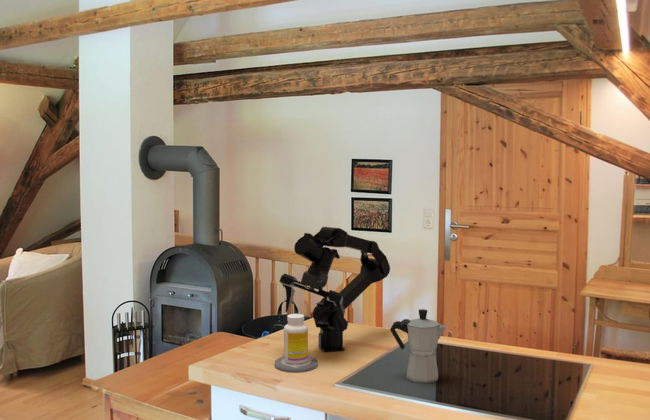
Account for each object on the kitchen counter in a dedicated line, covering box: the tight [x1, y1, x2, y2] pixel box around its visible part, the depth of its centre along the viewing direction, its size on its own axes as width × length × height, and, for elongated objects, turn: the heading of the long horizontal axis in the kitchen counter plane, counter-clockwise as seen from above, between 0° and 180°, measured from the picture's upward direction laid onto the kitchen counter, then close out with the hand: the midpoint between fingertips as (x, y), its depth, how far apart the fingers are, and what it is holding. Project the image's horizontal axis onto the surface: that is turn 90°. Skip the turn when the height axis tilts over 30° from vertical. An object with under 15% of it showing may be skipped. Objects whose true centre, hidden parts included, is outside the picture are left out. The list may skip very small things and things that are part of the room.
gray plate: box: [274, 355, 319, 373], centre depth 172 cm, size 12×12×1 cm
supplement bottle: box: [283, 313, 309, 364], centre depth 172 cm, size 7×7×13 cm
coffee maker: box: [389, 308, 448, 384], centre depth 162 cm, size 15×9×18 cm, turn 75°
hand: (301, 317), depth 178 cm, fingers open, 9 cm apart
